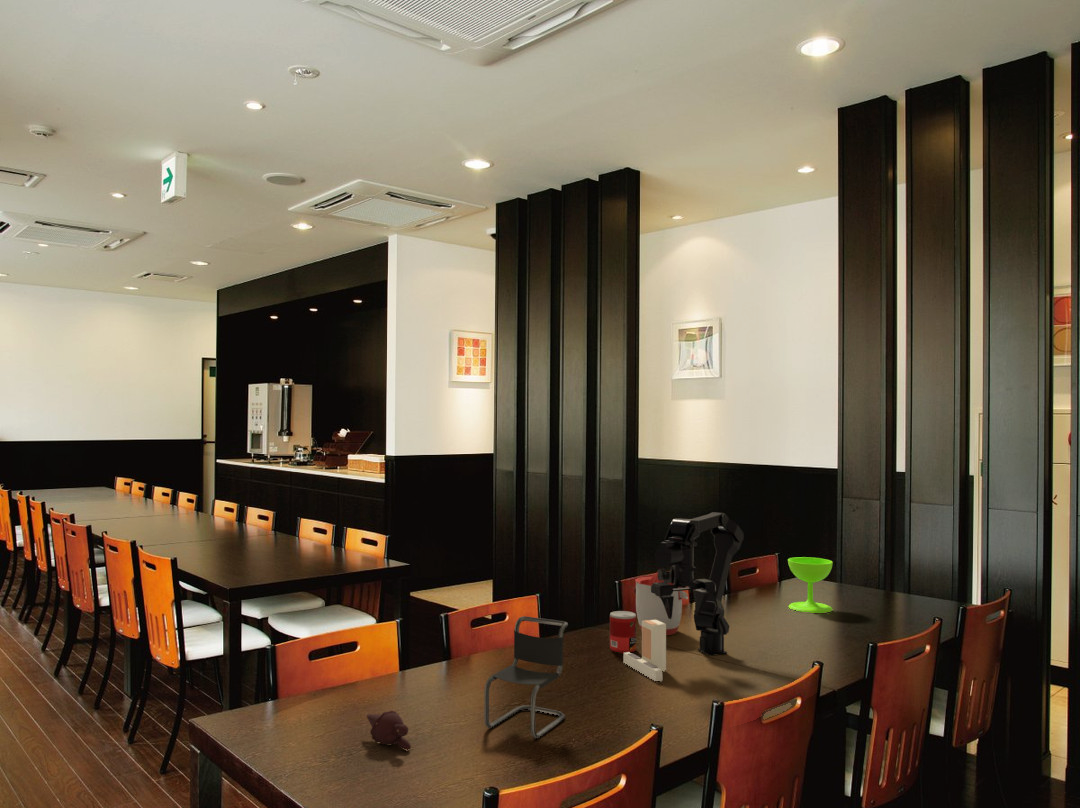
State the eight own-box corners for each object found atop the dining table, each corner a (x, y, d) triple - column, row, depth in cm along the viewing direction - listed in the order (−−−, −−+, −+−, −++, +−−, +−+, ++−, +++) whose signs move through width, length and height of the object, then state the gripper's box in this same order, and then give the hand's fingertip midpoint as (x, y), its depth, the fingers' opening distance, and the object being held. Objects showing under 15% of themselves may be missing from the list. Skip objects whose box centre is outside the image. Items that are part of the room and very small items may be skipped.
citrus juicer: (684, 640, 250) (684, 577, 251) (630, 635, 256) (630, 573, 257) (691, 628, 265) (691, 569, 266) (640, 624, 271) (640, 566, 271)
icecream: (350, 709, 170) (390, 734, 160) (379, 693, 175) (419, 716, 165) (355, 738, 171) (395, 765, 161) (383, 721, 177) (424, 746, 166)
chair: (570, 716, 184) (570, 621, 185) (534, 742, 169) (534, 639, 169) (521, 707, 190) (522, 615, 191) (482, 731, 175) (483, 631, 175)
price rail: (629, 662, 227) (629, 651, 227) (662, 681, 210) (662, 669, 210) (623, 663, 226) (623, 652, 226) (655, 682, 209) (655, 669, 209)
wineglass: (839, 614, 287) (839, 564, 288) (795, 613, 288) (795, 564, 288) (824, 604, 303) (824, 557, 304) (782, 604, 304) (782, 557, 304)
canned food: (635, 654, 235) (635, 617, 235) (608, 652, 236) (608, 616, 237) (637, 647, 242) (637, 611, 243) (611, 646, 244) (611, 610, 244)
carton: (655, 665, 224) (655, 619, 224) (666, 671, 219) (665, 623, 219) (641, 667, 222) (641, 620, 222) (651, 673, 217) (651, 624, 217)
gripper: (695, 556, 238) (695, 608, 238) (641, 560, 231) (641, 613, 231) (716, 562, 228) (716, 617, 228) (661, 566, 221) (661, 622, 220)
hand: (683, 617), depth 227 cm, fingers open, 9 cm apart
